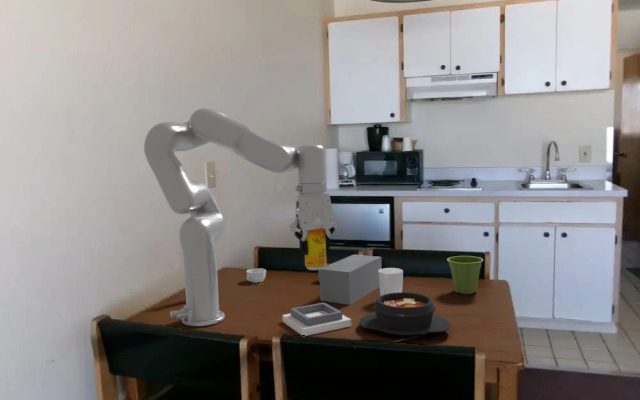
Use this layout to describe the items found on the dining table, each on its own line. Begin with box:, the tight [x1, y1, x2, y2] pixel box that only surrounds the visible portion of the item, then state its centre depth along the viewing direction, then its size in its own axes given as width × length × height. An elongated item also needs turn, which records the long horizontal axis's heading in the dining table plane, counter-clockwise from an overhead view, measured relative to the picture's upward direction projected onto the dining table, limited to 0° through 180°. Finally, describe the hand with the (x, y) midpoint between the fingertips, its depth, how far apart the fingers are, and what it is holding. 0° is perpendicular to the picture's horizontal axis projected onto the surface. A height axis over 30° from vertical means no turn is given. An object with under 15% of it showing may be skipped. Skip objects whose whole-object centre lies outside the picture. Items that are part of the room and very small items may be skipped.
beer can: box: [304, 218, 328, 271], centre depth 146 cm, size 6×6×15 cm
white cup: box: [378, 267, 404, 297], centre depth 168 cm, size 8×8×10 cm
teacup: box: [246, 267, 267, 284], centre depth 198 cm, size 10×10×5 cm
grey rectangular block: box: [317, 254, 383, 306], centre depth 182 cm, size 25×23×11 cm
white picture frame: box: [282, 302, 352, 337], centre depth 148 cm, size 15×14×4 cm
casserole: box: [358, 291, 452, 337], centre depth 142 cm, size 25×19×8 cm
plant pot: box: [446, 255, 484, 295], centre depth 176 cm, size 12×12×11 cm
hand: (315, 252), depth 147 cm, fingers closed on beer can, 6 cm apart
